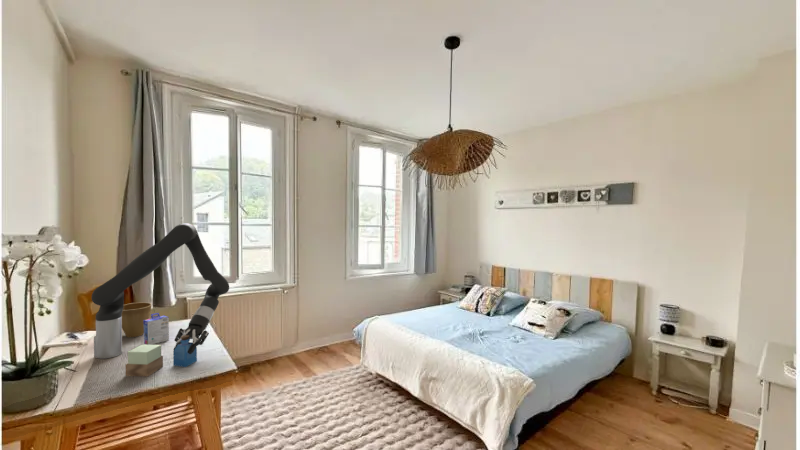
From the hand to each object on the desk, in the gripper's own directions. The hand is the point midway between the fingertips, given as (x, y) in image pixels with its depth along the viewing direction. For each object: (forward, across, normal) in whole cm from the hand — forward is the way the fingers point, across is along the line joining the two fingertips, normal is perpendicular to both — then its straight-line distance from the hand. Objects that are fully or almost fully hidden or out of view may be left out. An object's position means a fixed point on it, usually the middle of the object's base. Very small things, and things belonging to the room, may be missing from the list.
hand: (182, 352), depth 151 cm
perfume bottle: (+3, 0, +5) cm, 6 cm away
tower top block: (+6, -10, -5) cm, 13 cm away
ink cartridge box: (-11, -34, +19) cm, 40 cm away
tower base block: (+10, -10, -2) cm, 14 cm away
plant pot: (-15, -53, +23) cm, 60 cm away
